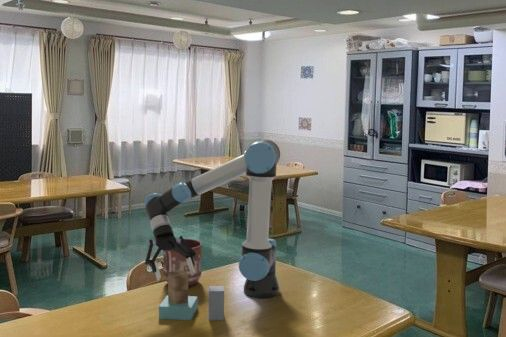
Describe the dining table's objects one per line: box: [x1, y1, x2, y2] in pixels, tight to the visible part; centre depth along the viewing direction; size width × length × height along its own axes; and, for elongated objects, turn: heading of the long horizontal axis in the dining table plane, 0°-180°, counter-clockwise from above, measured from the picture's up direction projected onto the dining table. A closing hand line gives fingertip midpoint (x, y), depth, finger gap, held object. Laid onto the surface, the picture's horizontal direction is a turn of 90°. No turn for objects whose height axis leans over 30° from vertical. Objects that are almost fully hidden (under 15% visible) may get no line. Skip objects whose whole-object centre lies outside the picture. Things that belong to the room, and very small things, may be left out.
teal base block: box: [158, 294, 199, 321], centre depth 201 cm, size 12×12×5 cm
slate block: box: [208, 285, 225, 321], centre depth 197 cm, size 6×6×11 cm
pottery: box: [162, 238, 203, 288], centre depth 234 cm, size 18×18×18 cm
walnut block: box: [167, 270, 189, 305], centre depth 200 cm, size 6×6×11 cm
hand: (176, 276), depth 200 cm, fingers open, 13 cm apart
